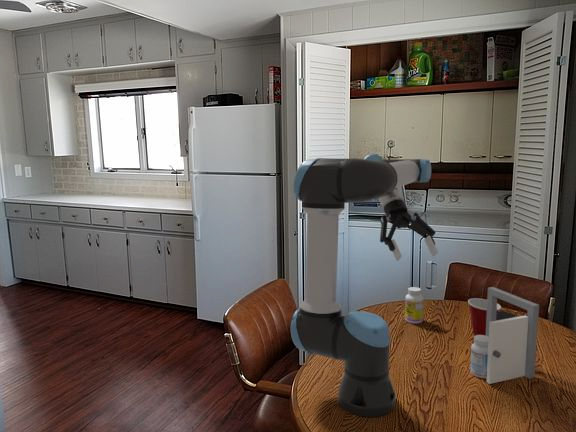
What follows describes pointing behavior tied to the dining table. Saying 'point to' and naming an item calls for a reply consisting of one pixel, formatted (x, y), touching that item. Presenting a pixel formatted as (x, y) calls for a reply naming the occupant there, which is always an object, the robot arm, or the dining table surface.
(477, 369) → the pill bottle
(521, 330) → the door
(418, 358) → the dining table surface
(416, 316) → the supplement bottle
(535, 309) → the door frame
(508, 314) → the phone
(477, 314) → the plastic cup
